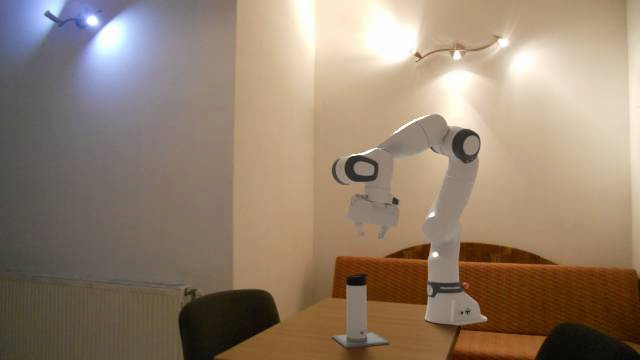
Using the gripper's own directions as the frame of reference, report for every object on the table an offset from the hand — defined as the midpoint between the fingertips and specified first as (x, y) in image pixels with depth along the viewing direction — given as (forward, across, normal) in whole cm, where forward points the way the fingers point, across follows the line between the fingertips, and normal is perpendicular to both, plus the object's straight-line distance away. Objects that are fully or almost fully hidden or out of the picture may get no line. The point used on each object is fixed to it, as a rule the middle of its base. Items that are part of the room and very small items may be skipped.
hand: (370, 237), depth 153 cm
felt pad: (+31, -5, -8) cm, 33 cm away
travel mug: (+31, -7, -8) cm, 33 cm away
